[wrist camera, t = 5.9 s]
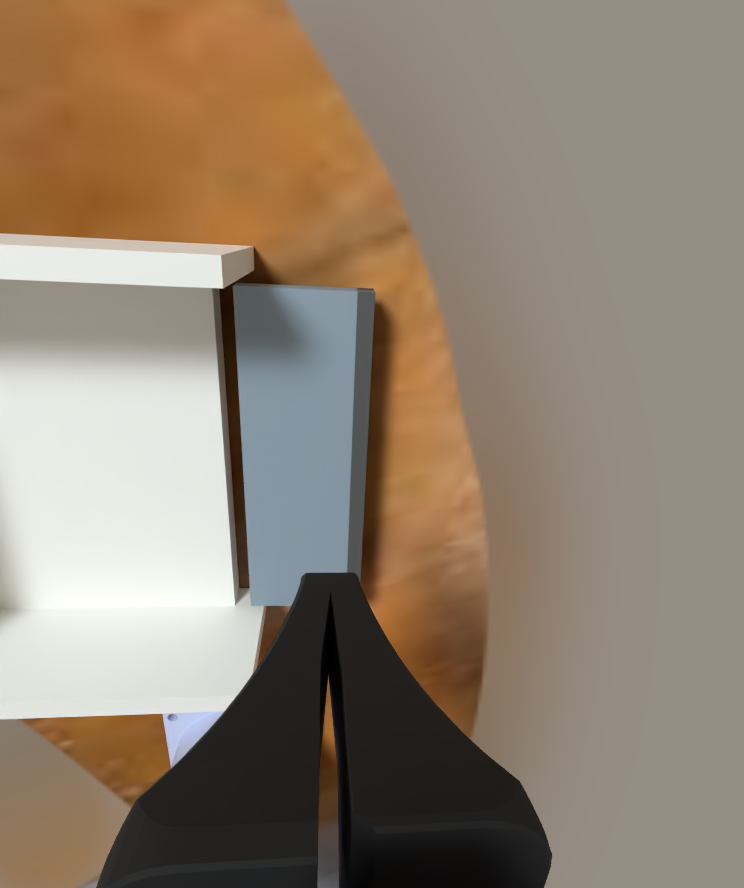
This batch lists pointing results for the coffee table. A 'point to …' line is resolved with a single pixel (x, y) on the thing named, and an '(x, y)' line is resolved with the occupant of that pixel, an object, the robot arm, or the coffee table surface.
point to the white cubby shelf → (118, 481)
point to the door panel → (303, 430)
